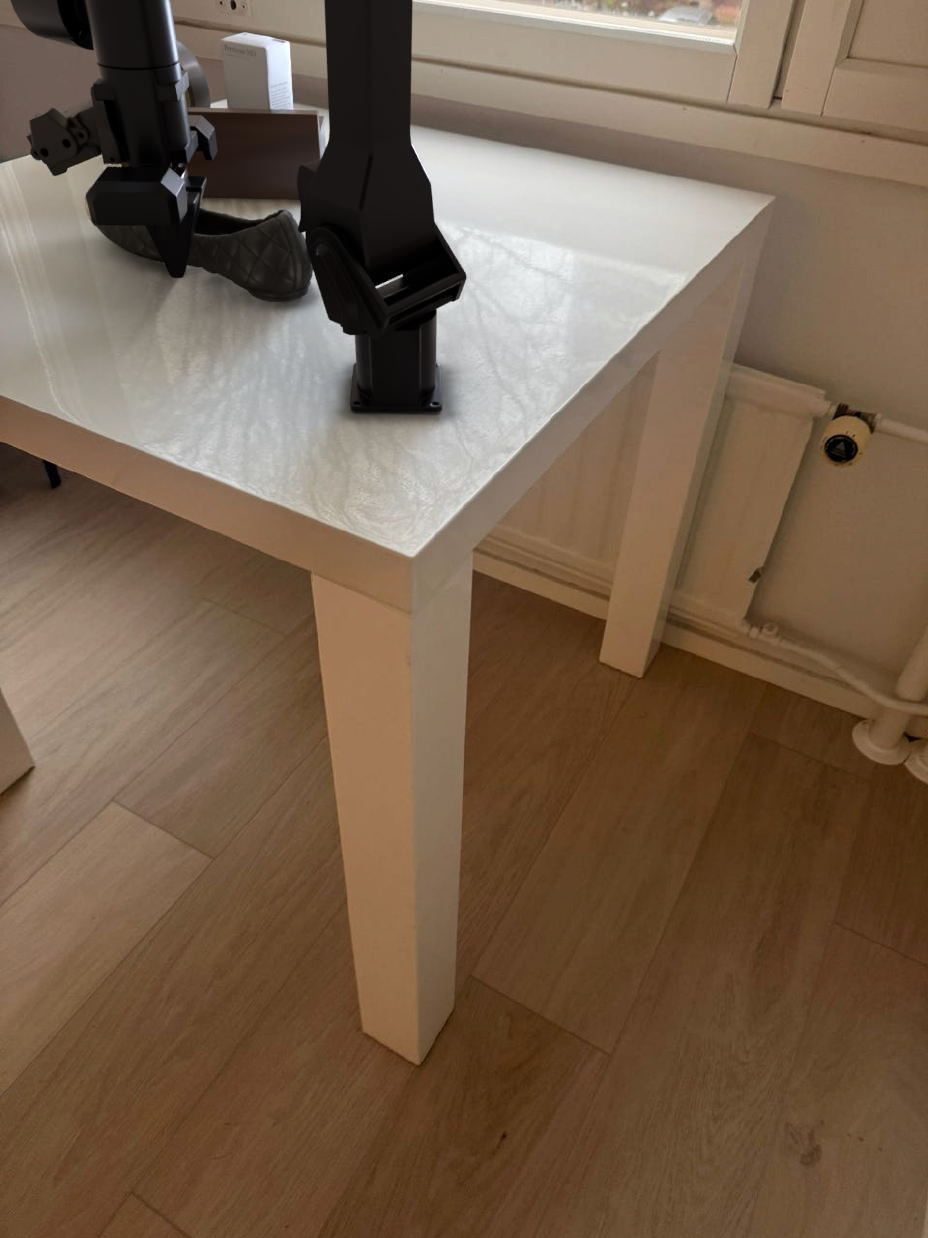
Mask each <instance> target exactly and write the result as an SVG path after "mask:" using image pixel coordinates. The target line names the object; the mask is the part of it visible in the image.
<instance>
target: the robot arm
mask: <svg viewBox="0 0 928 1238" xmlns="http://www.w3.org/2000/svg"><path fill="white" fill-rule="evenodd" d="M323 2H324V3H323V4H324V24H325V25H324V27H325V49H326V50H325V51H326V53H325V54H326V76H327V77H326V78H327V100H328V101H327V103H328V104H327V105H328V128H329V130H328V131H329V132H328V141H327V143H326V148H325V151H324V153H323V155H322V158H321V159H319V160H316V161H313V162H309V163H306V164H303V165H301V166H300V167H299V169H298V176H297V187H298V192H299V198H300V199H299V206H300V217H299V222H298V231H299V233H302V234H303V233H304V234H305V235H304V237H305V241H306V248H307V253H308V256H309V260H310V263H311V265H312V268H313V275H314V276H315V280H316V284H317V287H318V290H319V293H320V296H321V300H322V303H323V306H324V309H325V313H326V316H327V318H328V320H329V321H331V322H333V323H334V324H338V325H339V326H340V327H341V328H342V333H343V334H345V335H348V336H354V348H355V349H354V350H355V362H354V363H353V366H352V375H351V386H350V398H349V409H350V411H352V412H355V413H440V412H442V411H443V389H442V388H443V387H442V371H441V369H442V367H441V364H440V363H437V336H438V335H437V333H438V332H437V330H438V329H437V328H438V327H437V326H438V325H437V324H438V321H437V320H438V311H437V309H439V308H441V307H443V306H445V305H447V304H449V303H451V302H452V303H454V302H456V301H458V300H460V297H461V295H462V292H463V290H464V287H465V284H466V282H467V278H468V277H467V273H466V271H465V269H464V267H463V266H462V264H461V263H460V261H459V259H458V258H457V256H456V255H455V253H454V251H453V250H452V248H451V245H449V243H448V241H447V240H446V238H445V236H444V235H443V233H442V232H441V230H440V228H439V227H438V225H437V223H436V221H435V210H434V199H433V189H432V182H431V180H430V177H429V175H428V173H427V171H426V169H425V167H424V165H423V163H422V161H421V159H420V156H419V155H418V153H417V151H416V149H415V147H414V145H413V143H412V137H411V136H412V134H411V119H412V117H411V115H412V114H411V113H412V111H411V110H412V64H413V63H412V59H413V57H412V56H413V55H412V53H413V52H412V51H413V2H414V1H413V0H323ZM10 4H11V6H12V9H13V11H14V13H15V15H16V16H17V18H18V20H19V21H20V22H21V24H22V25H23V26H24V27H25V28H26V29H27V30H28V31H29V32H31V33H32V34H33V35H35V36H37V37H39V38H42V39H44V40H49V41H52V42H56V43H60V44H64V45H68V46H71V47H76V48H79V49H84V50H87V51H94V56H95V61H96V65H97V66H96V67H97V72H98V75H99V77H98V78H97V79H96V80H95V81H94V82H93V84H92V86H91V87H90V89H89V90H90V97H91V98H89V99H87V100H85V101H82V102H79V103H78V104H77V103H76V104H75V105H72V106H70V107H67V108H65V109H63V110H60V111H59V110H57V109H56V108H55V107H50V108H48V110H47V111H45V112H44V113H43V112H42V113H41V114H40V113H36V114H34V115H33V116H32V117H31V118H30V119H29V120H28V124H29V131H28V132H27V135H26V139H27V140H28V142H29V144H30V147H31V148H30V151H29V154H30V157H32V158H33V159H34V160H35V161H41V162H42V163H43V164H44V165H46V168H48V170H49V172H50V173H51V175H52V176H53V177H57V176H61V175H64V174H65V173H67V172H68V169H71V168H72V167H75V166H77V165H80V164H82V163H85V162H87V161H90V160H93V159H94V158H98V157H99V156H101V158H102V162H103V165H110V166H106V167H105V168H104V170H103V171H102V172H101V173H100V175H99V176H98V177H97V178H96V180H95V181H94V183H93V184H92V185H91V186H90V187H91V188H90V187H89V188H90V189H89V188H88V189H89V191H88V190H87V191H88V192H87V191H86V192H85V195H84V197H85V196H86V200H87V204H88V208H89V213H90V217H91V220H90V221H92V222H91V224H93V223H94V224H97V225H130V226H145V227H146V229H147V231H148V233H149V235H150V237H151V239H152V241H153V243H154V245H155V247H156V249H157V251H158V253H159V255H160V257H161V259H162V261H163V263H162V264H163V265H164V267H165V270H166V272H167V273H168V274H167V275H169V277H170V278H171V279H183V278H185V275H186V271H187V262H188V258H189V253H190V249H191V244H192V240H193V235H194V231H195V227H196V223H197V218H198V214H199V210H200V207H201V205H202V201H203V198H204V197H203V193H204V188H205V185H206V181H207V179H206V177H204V176H188V173H187V167H182V165H183V164H184V163H185V164H188V162H189V161H190V159H191V157H192V155H193V154H194V152H195V151H203V154H204V157H205V159H206V160H213V159H214V157H215V156H216V154H217V152H218V151H217V143H216V136H215V129H214V127H213V126H212V125H211V124H210V123H209V122H208V121H207V120H206V119H205V118H204V117H203V116H202V115H188V112H187V105H186V99H185V92H184V91H186V90H187V88H188V87H189V79H188V73H187V70H181V66H180V60H179V54H178V47H177V41H176V40H177V34H176V29H175V28H176V27H175V22H174V15H173V8H172V2H171V0H10ZM121 162H124V163H128V167H121V166H111V165H121ZM399 276H400V277H399ZM393 279H394V280H393ZM391 280H392V281H391ZM389 281H390V282H389ZM386 282H387V283H386ZM384 283H386V284H384ZM382 284H383V285H382ZM380 285H381V286H380ZM378 286H379V287H378Z"/></svg>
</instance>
